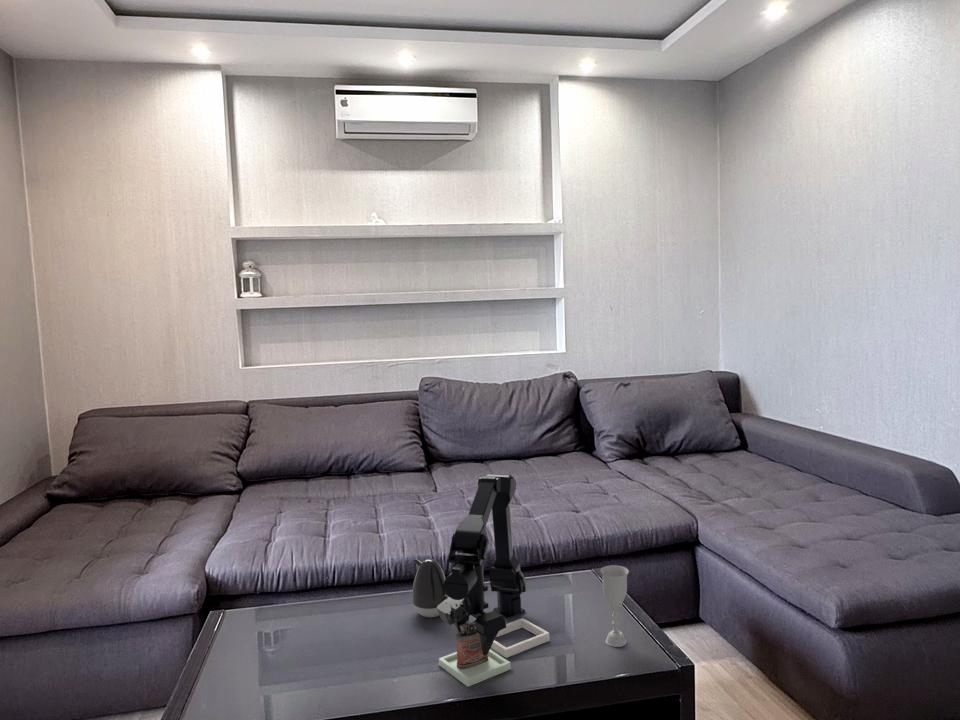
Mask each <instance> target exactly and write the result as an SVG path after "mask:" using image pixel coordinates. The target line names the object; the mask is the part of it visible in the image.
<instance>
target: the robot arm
mask: <svg viewBox="0 0 960 720" xmlns="http://www.w3.org/2000/svg"><path fill="white" fill-rule="evenodd" d="M477 486H478V487H477V489H476V492H475V494H474V495H475V496H474V498H473V500H472V504H471V506H470V509H469V510H468V511H469V512H468V514H467V517H466V518H464V519H463V520H461V521H460V522H459V523H458V525H457V527H456V529H455V532H453V533H452V537H451V541H450V547H449V553H448V558H447V562H448V563H449V564H453V567H451V572H450V573H449V575H447V576H446V577H445V578H446V579H445V582H444V590H445V593H446V594H447V595H444V596H443V598H442V599H441V603H440V604H439V605H438V606H437V610H438V612H439V616H440V617H439V618H440V619H441V621H444V622H445V623H446V624H447V625H453V624H454V625H455V627H456V631H457V634H458V633H460V632H461V630H460V625H463V624H465V623H466V622H467V621H470V616H472V617H474V618H475V627H476V629H477V630H475V631H476V632H477V633H478V634H479V635H480V638H481V646H482V652H483V655H484V656H485V655H487V654H488V653H489V650H490V649H491V646H492V644H493V641H494V640H496V638H497V637H496V636H497V634H498V632H499V631H500V630H502V629H504V628H506V624H507V619H510V618H512V617H513V618H514V617H515V616H518V615H521V614H523V613H526V609H524V608H522V598H521V595H522V594H523V593H526V592H527V583H526V582H527V579H526V578H525V575H524V574H523V572H522V571H521V563H520V562H519V561H518V559H517V557H516V556H515V555H514V551H513V538H512V537H513V535H512V524H511V523H512V522H511V521H512V520H511V510H510V508H511V507H510V503H511V502H512V500H513V498H514V496H515V493H516V489H517V480H516V479H515V478H514V476H512V474H507V473H506V474H505V473H502V474H501V473H487V474H486V475H482V476H479V477H478V481H477ZM490 514H492V526H493V538H494V553H495V560H494V561H493V564H492V565H491V568H490V570H489V579H488V580H489V583H490V590H491V592H492V593H493V592H497V594H496V597H497V607H495V608H493V609H492V611H489V612H486V611H484V610H485V609H489V603H488V602H487V601H485V592H487V591H489V587H488V585H486V584H485V581H484V580H485V579H484V577H485V576H484V561H485V560H486V559H487V558H486V557H487V554H488V549H489V544H490V540H489V539H488V538H489V536H488V533H487V530H486V529H487V528H486V527H487V524H488V520H489V517H490ZM456 553H457V554H456ZM495 637H496V638H495Z"/></svg>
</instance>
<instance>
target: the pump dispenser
mask: <svg viewBox="0 0 960 720" xmlns="http://www.w3.org/2000/svg"><path fill="white" fill-rule="evenodd" d="M413 562H414V563H415V564H416V565H417V566H418V569H417V571H416V574H415V577H414V580H413V585H412V595H411V602H412V605H413V607H414V610H415V611H416V612H417V613H418V614H419V616H423V617H424V618H435V617H439V616H440V615H439V612H438V610H437V606H438V605H439V604H440V603H441V599H442V598H443V596H444V595H447V594H446V593H445V590H444V582H445V579H446V578H447V577H446V576H445V572H444V571H443V569H442V566H441V565H440V563H439V562H438V561H437V560H435V559H433V558H427V559H424V560H423V561H421V560H419V559H417V558H414V560H413Z"/></svg>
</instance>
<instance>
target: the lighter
mask: <svg viewBox="0 0 960 720" xmlns="http://www.w3.org/2000/svg"><path fill="white" fill-rule="evenodd" d="M475 620H476V619H475ZM475 620H473V621H471V620H469V621H467V622H466V623H465V624H463V625H460V630H461V632H460V633H458V632H457V633H456V634H455V640H456V652H457V668H458V669H467V668H471V667H475V666H478V665H480V664H483V663H485V662H487V661H488V655H485V656H484V655H483V652H482V646H481V638H480V635H479V634H478V633H477V632H476V631H475V630H477V629H476V627H475Z"/></svg>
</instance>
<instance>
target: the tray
mask: <svg viewBox="0 0 960 720" xmlns="http://www.w3.org/2000/svg"><path fill="white" fill-rule="evenodd" d="M487 655H488V661H487V662H485V663H483V664H480V665H478V666H475V667H471V668H467V669H458V668H457V651H454V652H452V653H449V654H447V655H444V656H442V657H439V658H438V666H439V667H440V668H442V669H444V671H446V672H447V673H449V675H450V674H451V676H453V678H455V679H457V680H458V682H461V683H462V684H463V685H464V686H466V687H471V686H473V685H475V684H478V683H480V682H481V683H482V682H483V681H485V680H488V679H490V678H493V677H495V676H497V675H499V674H502V673H505V672H507V671H510V670H512V665H511V661H509V660H508V659H507V658H505V657H504V656H502V655H501V654H499V653H497V652H496V651H494V650H493V649H491V648H490V650H489V653H488V654H487Z"/></svg>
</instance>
